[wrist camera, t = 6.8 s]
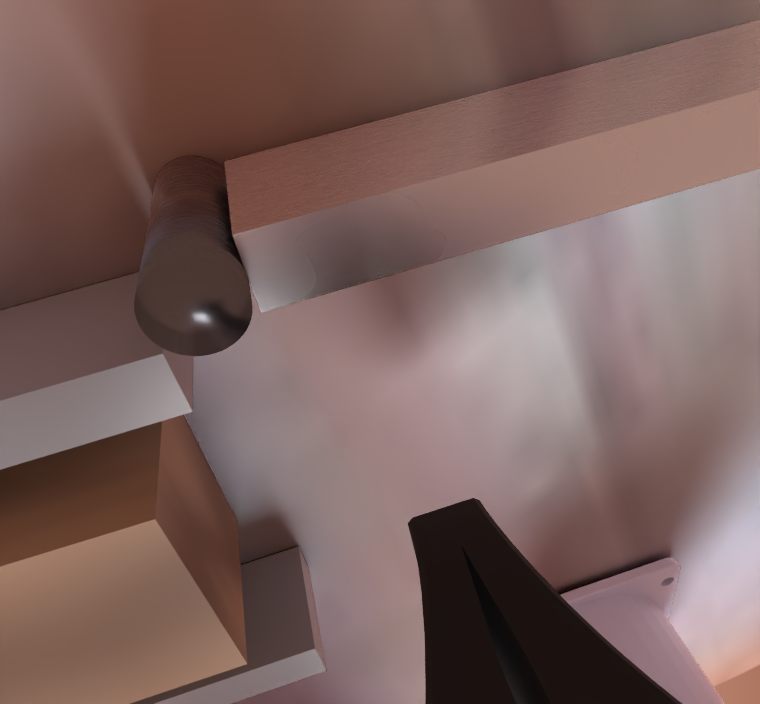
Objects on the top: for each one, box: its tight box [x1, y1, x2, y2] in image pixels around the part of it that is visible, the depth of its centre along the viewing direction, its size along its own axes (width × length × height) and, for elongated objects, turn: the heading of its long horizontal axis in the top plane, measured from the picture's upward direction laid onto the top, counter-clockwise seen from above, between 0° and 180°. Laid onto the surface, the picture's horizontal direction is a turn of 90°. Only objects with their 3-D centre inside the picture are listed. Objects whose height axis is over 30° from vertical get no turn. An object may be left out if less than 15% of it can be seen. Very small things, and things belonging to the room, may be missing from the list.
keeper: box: [134, 20, 760, 356], centre depth 9 cm, size 12×1×4 cm, turn 101°
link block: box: [0, 415, 247, 704], centre depth 12 cm, size 5×6×4 cm
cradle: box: [0, 272, 327, 704], centre depth 13 cm, size 10×9×3 cm
